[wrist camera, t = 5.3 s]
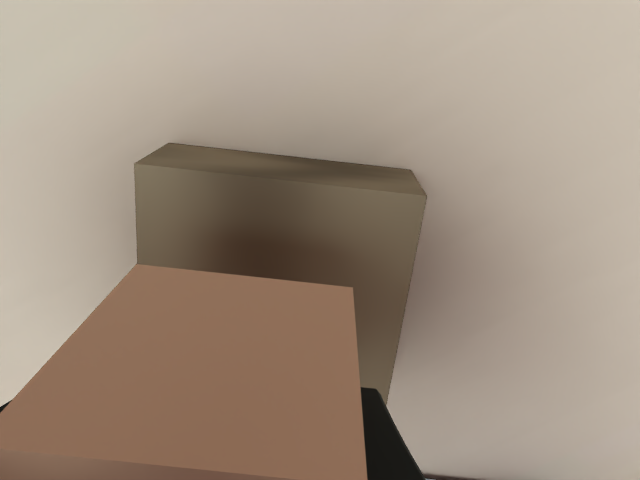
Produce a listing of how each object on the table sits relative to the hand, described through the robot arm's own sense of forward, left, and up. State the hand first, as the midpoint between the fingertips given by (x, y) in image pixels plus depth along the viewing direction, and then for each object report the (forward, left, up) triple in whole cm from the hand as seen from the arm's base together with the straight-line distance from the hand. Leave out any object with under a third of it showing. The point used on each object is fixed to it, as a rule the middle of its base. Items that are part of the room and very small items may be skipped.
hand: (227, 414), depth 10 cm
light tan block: (0, 0, -1) cm, 1 cm away
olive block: (0, +1, -8) cm, 8 cm away
